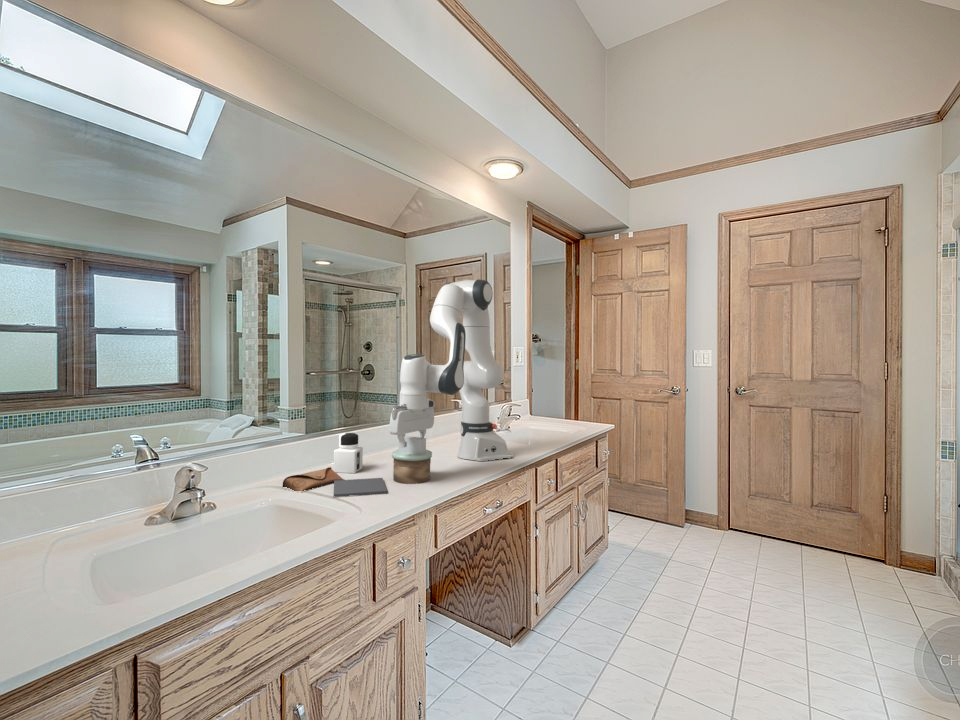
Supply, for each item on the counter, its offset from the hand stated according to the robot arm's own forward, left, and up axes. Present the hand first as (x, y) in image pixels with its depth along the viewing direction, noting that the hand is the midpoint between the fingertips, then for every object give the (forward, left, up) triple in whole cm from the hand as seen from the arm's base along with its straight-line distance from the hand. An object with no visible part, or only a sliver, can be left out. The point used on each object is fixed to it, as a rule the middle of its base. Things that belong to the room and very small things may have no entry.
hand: (411, 445), depth 152 cm
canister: (0, 0, -11) cm, 11 cm away
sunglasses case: (+30, -1, -12) cm, 32 cm away
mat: (+17, +7, -11) cm, 21 cm away
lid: (0, 0, -6) cm, 6 cm away
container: (+20, -16, -12) cm, 28 cm away
